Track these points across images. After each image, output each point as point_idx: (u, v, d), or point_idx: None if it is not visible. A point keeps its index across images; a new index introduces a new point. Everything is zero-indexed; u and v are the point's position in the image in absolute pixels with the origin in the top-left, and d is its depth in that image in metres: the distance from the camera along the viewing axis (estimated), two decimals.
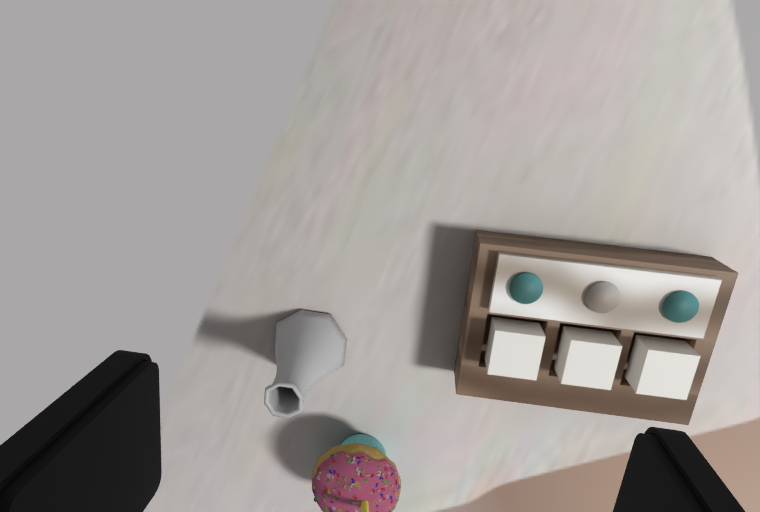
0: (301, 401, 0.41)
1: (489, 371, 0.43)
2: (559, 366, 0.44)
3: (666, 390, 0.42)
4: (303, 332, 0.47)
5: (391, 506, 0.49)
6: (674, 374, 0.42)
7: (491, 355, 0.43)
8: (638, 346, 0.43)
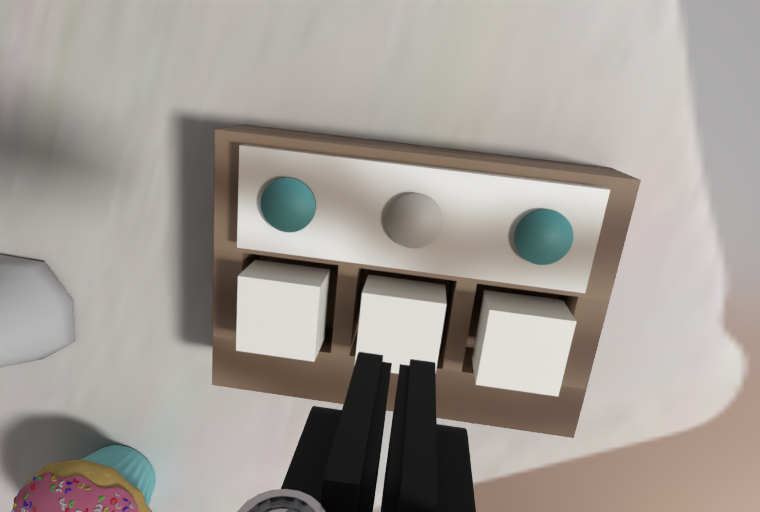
0: None
1: (238, 346, 0.26)
2: None
3: (524, 380, 0.25)
4: None
5: None
6: (534, 352, 0.25)
7: (238, 319, 0.26)
8: (483, 307, 0.26)
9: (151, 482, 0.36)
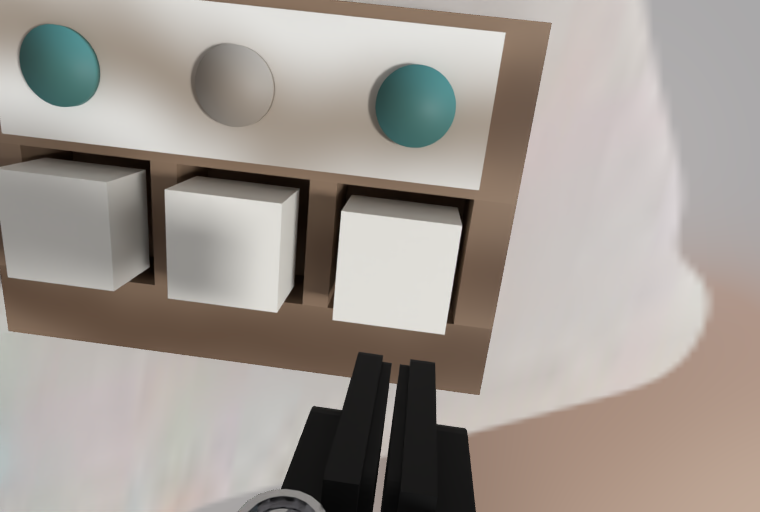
0: None
1: (10, 270, 0.19)
2: None
3: (396, 312, 0.18)
4: None
5: None
6: (408, 271, 0.18)
7: (4, 231, 0.19)
8: None
9: None
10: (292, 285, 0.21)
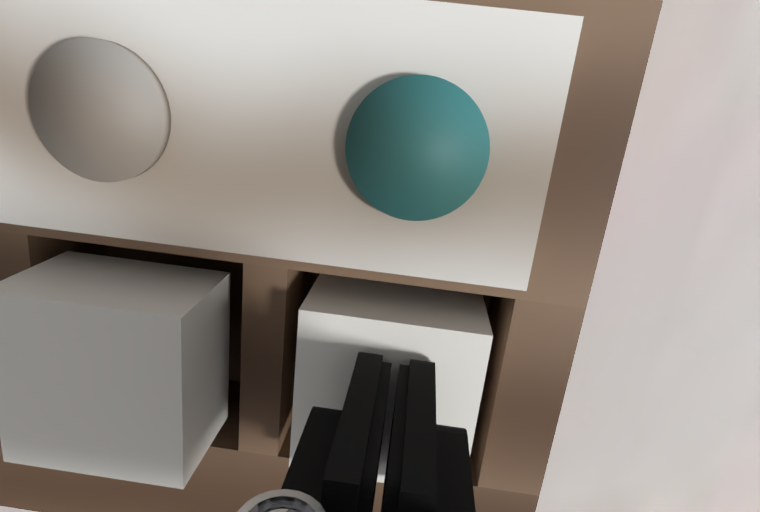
0: None
1: None
2: None
3: None
4: None
5: None
6: None
7: None
8: None
9: None
10: (223, 419, 0.13)
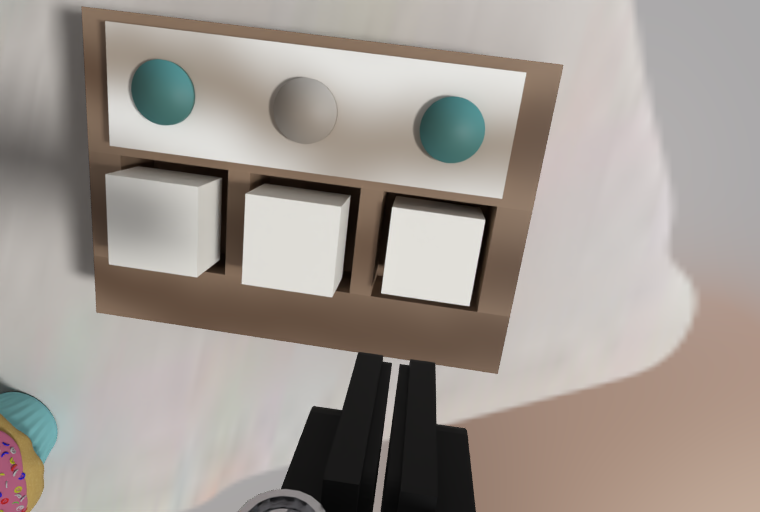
0: None
1: (111, 258, 0.23)
2: None
3: (432, 288, 0.23)
4: None
5: (8, 509, 0.28)
6: (442, 255, 0.23)
7: (109, 226, 0.23)
8: None
9: (50, 432, 0.32)
10: (341, 277, 0.25)
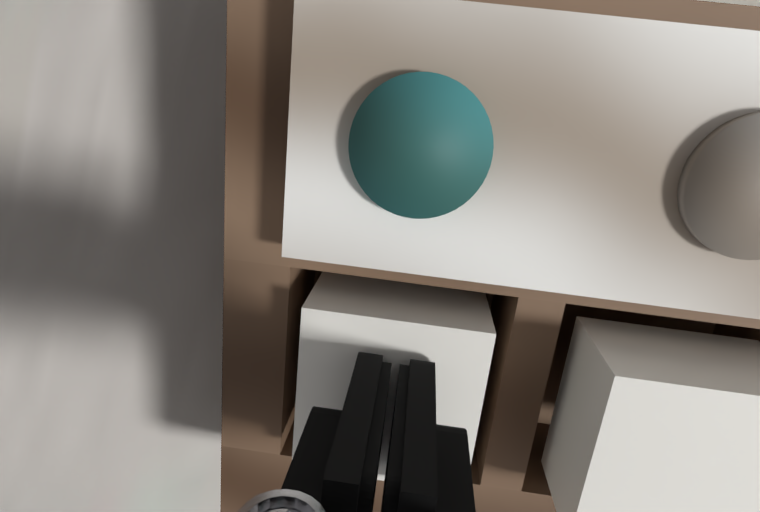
0: None
1: None
2: (560, 468, 0.12)
3: None
4: None
5: None
6: None
7: (298, 401, 0.12)
8: None
9: None
10: None
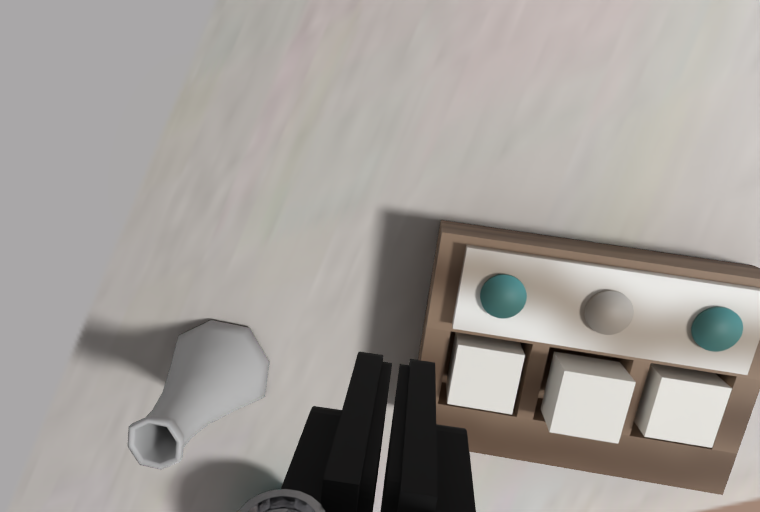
0: (179, 446, 0.29)
1: (450, 400, 0.32)
2: (547, 407, 0.32)
3: (684, 434, 0.31)
4: (206, 349, 0.35)
5: None
6: (695, 411, 0.31)
7: (452, 378, 0.32)
8: None
9: None
10: None
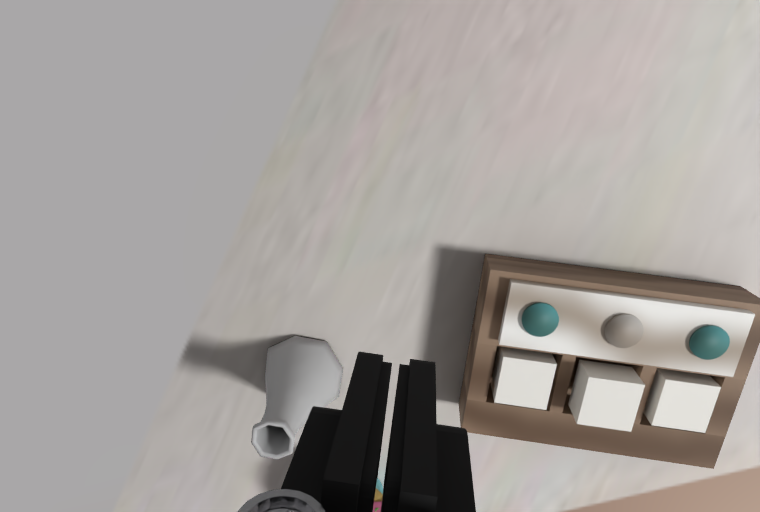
0: (292, 442, 0.37)
1: (496, 399, 0.41)
2: (574, 404, 0.40)
3: (683, 422, 0.40)
4: (296, 362, 0.43)
5: None
6: (692, 405, 0.39)
7: (499, 382, 0.40)
8: None
9: None
10: None
